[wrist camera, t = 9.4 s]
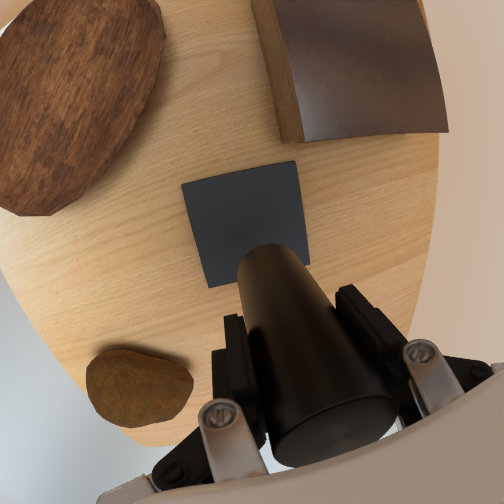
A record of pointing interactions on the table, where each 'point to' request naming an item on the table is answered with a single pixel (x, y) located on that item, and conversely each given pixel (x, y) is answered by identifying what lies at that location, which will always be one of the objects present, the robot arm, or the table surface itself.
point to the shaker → (308, 363)
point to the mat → (245, 217)
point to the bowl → (71, 95)
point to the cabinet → (350, 68)
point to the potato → (136, 388)
